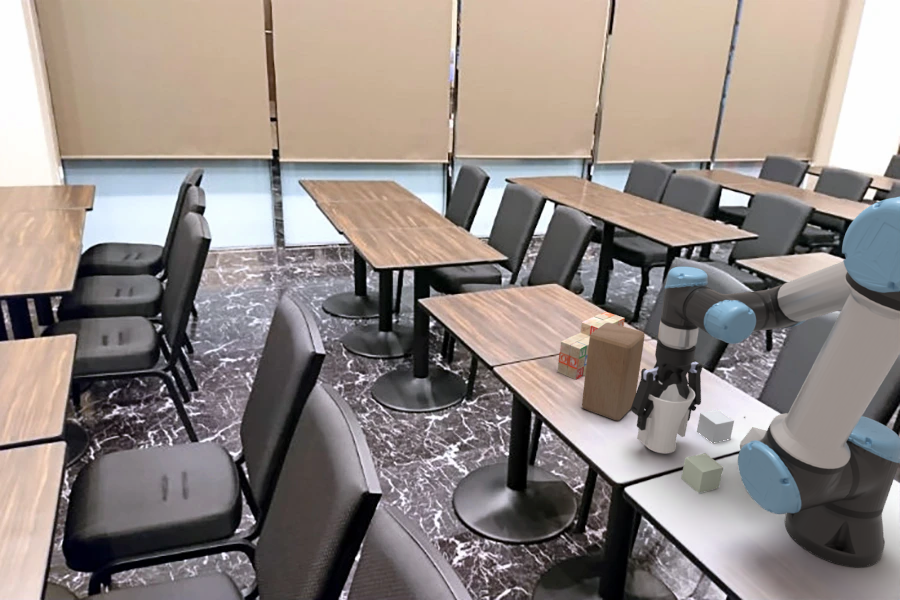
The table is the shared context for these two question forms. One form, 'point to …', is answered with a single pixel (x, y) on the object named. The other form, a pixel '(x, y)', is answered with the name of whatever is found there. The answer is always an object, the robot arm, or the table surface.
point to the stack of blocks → (582, 345)
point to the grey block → (753, 436)
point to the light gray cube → (715, 426)
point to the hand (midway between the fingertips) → (661, 437)
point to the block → (612, 370)
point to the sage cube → (702, 472)
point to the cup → (667, 418)
